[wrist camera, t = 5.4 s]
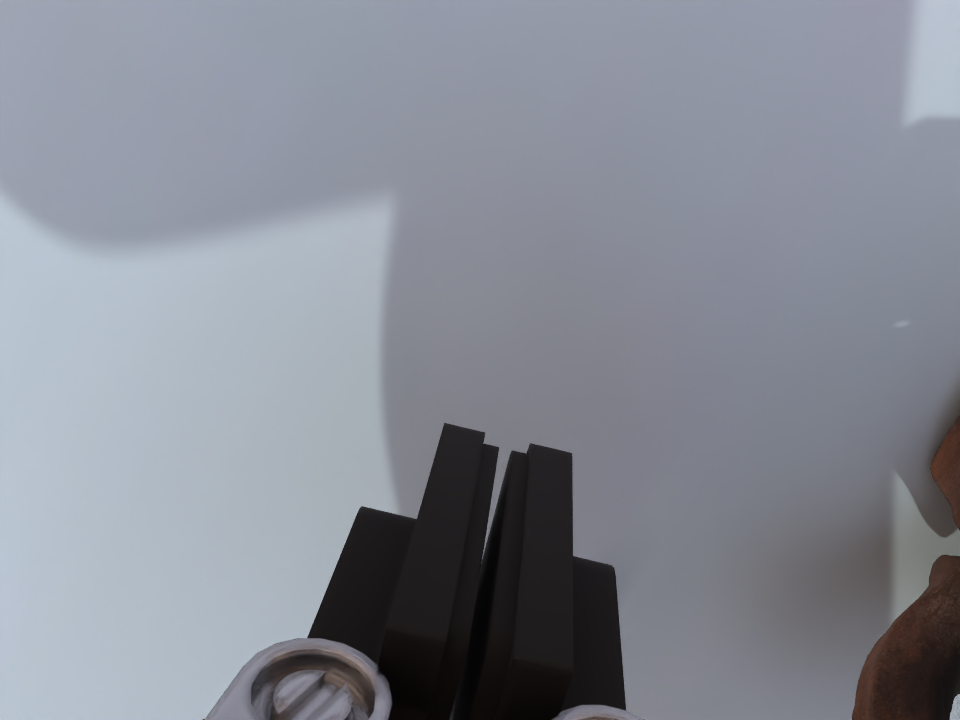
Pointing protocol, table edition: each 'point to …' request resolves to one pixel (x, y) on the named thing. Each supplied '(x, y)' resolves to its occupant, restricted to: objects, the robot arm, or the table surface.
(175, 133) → the table surface
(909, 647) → the brown piece
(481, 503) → the robot arm
